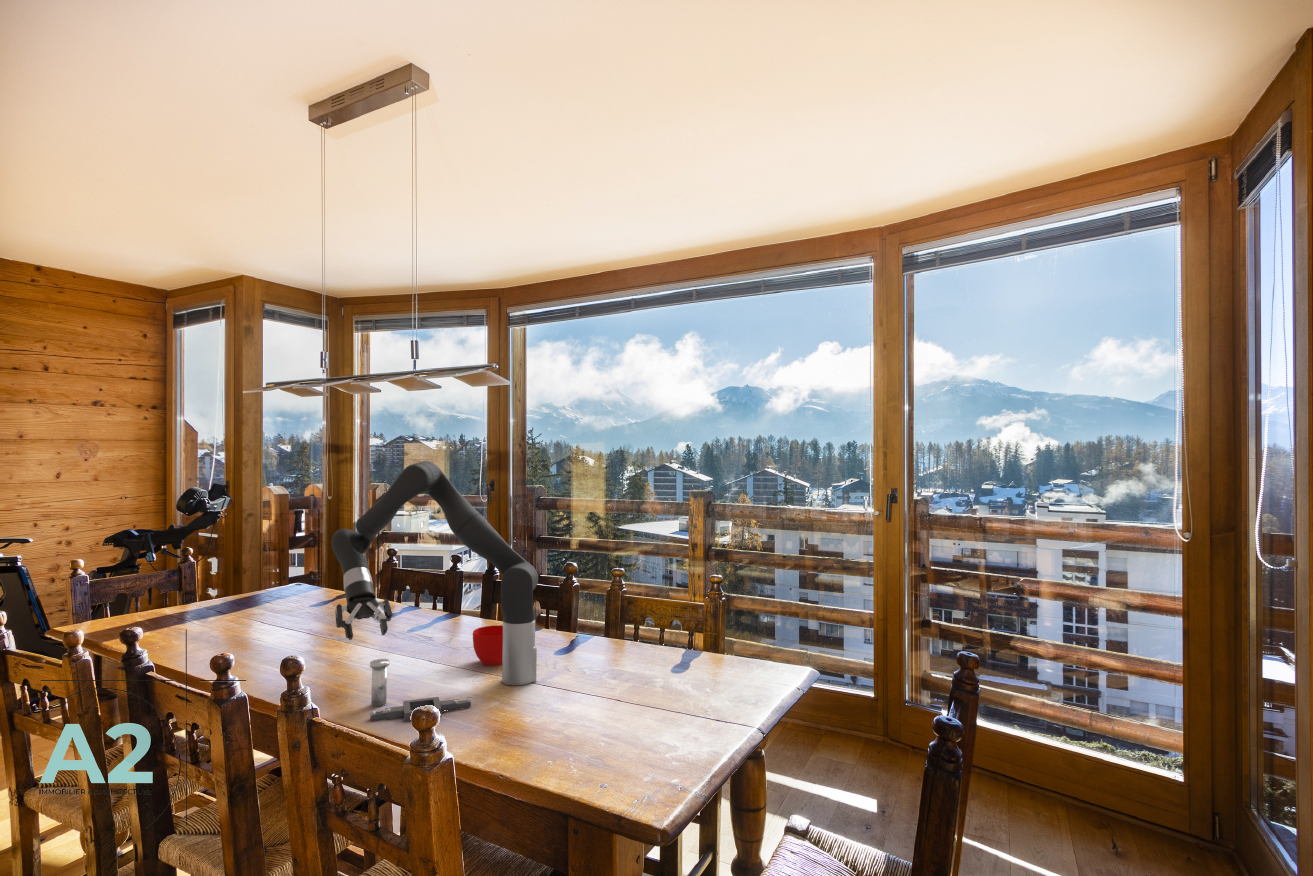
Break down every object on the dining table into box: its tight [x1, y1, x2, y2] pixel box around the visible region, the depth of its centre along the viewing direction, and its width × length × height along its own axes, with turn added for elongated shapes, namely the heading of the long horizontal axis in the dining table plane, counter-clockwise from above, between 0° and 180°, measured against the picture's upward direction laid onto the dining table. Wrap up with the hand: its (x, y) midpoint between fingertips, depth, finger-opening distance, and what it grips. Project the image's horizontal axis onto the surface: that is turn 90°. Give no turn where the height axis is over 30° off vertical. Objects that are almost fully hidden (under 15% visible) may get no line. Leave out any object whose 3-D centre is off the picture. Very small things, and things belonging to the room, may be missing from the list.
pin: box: [369, 658, 390, 708], centre depth 167 cm, size 5×5×11 cm
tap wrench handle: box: [369, 696, 472, 723], centre depth 162 cm, size 24×9×2 cm, turn 113°
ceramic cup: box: [472, 624, 503, 666], centre depth 202 cm, size 13×17×10 cm
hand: (367, 636), depth 177 cm, fingers open, 8 cm apart
